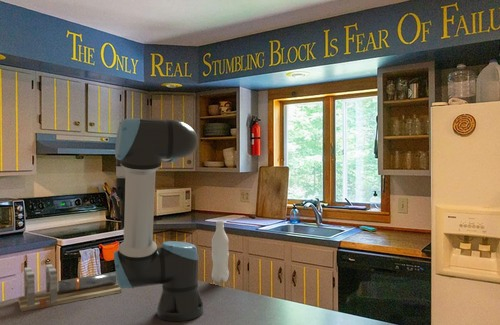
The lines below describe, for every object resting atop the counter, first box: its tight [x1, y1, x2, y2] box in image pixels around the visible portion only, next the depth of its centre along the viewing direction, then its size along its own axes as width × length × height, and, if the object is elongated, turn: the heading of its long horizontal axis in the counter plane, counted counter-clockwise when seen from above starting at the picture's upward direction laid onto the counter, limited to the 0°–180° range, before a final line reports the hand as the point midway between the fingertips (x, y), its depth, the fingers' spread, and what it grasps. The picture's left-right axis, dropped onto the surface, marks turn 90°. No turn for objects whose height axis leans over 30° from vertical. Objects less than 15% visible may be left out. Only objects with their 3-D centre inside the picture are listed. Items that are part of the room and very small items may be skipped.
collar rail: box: [17, 263, 122, 312], centre depth 149 cm, size 13×34×12 cm, turn 124°
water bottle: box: [211, 220, 230, 284], centre depth 167 cm, size 7×7×25 cm
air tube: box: [57, 271, 117, 294], centre depth 153 cm, size 20×5×5 cm, turn 124°
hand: (126, 235), depth 161 cm, fingers closed
